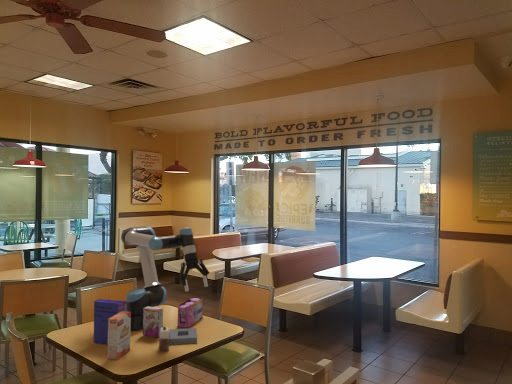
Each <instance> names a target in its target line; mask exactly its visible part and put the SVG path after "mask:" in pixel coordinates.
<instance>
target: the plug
mask: <svg viewBox="0 0 512 384" xmlns="http://www.w3.org/2000/svg"><path fill="white" fill-rule="evenodd" d="M169 332H170V327H166V326H164V327H163V328H161V330H160V337H159V339H169Z"/></svg>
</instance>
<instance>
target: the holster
mask: <svg viewBox="0 0 512 384" xmlns="http://www.w3.org/2000/svg"><path fill="white" fill-rule="evenodd" d="M169 339H170V333H169ZM169 339H160V338H159V341H158V343H159V344H158V345H159V346H158V348H159V349H158V351H159V352H169V350H170V344H169Z"/></svg>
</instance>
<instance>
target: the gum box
mask: <svg viewBox="0 0 512 384" xmlns="http://www.w3.org/2000/svg"><path fill="white" fill-rule="evenodd" d="M203 303H204V301H203V297H197V296H192V297H190V298H188V299H187V300H184V301H183V302H181V303H180V304H178V306H177V327H180V328H186V329H188V328H190V327H191V326H193V325H194V324H195V323H197V322H198V321H200V320H201V319H202V318H203V309H204V308H203V307H204V306H203V305H204V304H203ZM200 318H201V319H200ZM196 321H197V322H196Z"/></svg>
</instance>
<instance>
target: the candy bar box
mask: <svg viewBox="0 0 512 384" xmlns="http://www.w3.org/2000/svg"><path fill="white" fill-rule="evenodd" d="M163 318H164V308H162V307H158V306H155V307H149V306H147V307H145V308H143V330H142V335H143V336H146V337H153V338H160V330H161V328H163V326H164V325H163V324H164V322H163V321H164V319H163Z"/></svg>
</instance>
